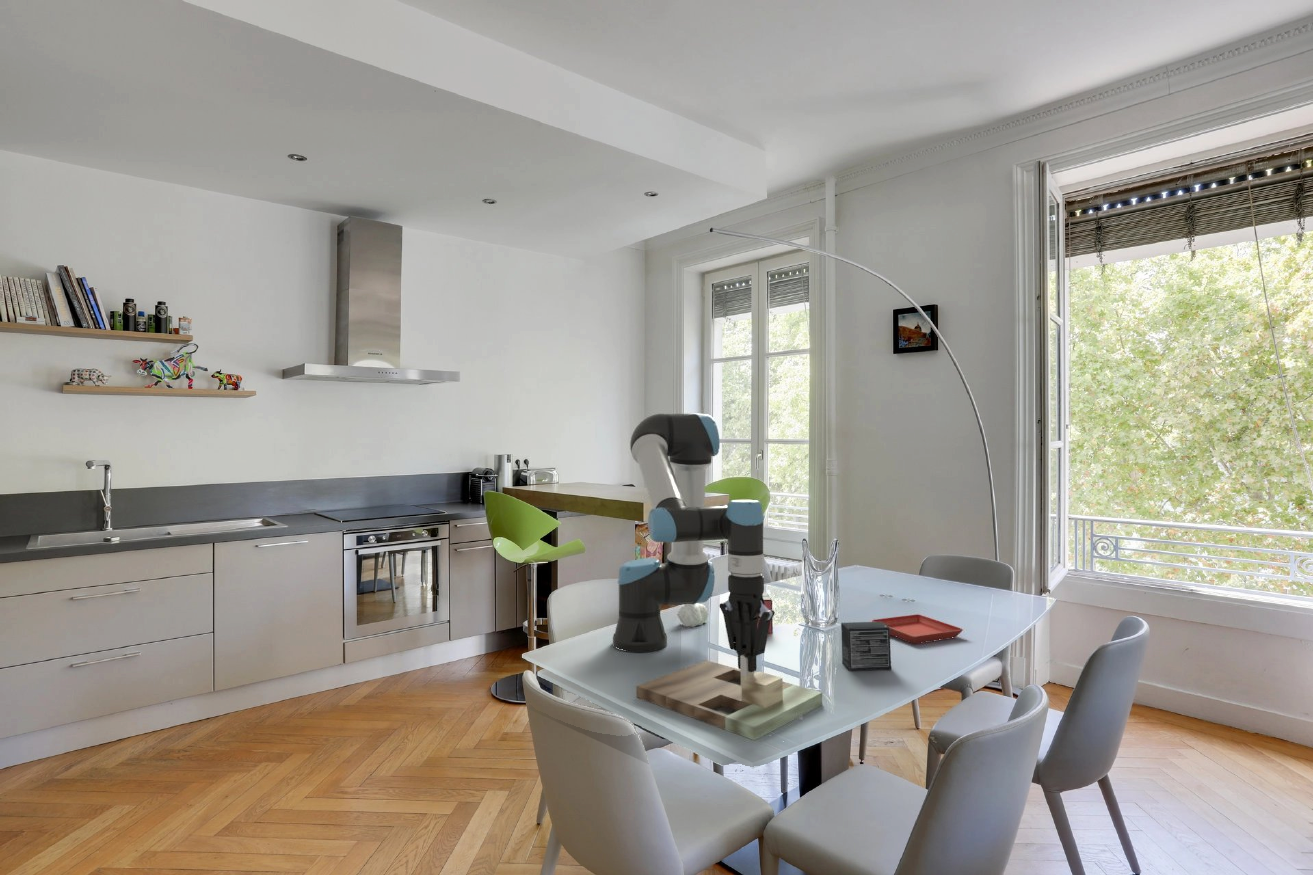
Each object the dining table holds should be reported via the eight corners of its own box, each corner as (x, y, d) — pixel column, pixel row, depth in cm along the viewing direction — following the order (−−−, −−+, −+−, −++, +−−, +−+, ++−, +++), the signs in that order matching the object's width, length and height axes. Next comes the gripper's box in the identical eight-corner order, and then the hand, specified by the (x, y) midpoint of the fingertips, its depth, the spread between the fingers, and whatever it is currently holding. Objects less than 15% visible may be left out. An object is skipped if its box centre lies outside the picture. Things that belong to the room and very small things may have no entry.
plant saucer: (964, 640, 189) (964, 628, 189) (913, 647, 183) (913, 635, 183) (918, 624, 206) (918, 613, 206) (870, 631, 200) (870, 619, 200)
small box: (882, 661, 170) (881, 620, 170) (892, 670, 164) (891, 627, 164) (841, 662, 170) (840, 621, 170) (849, 671, 163) (848, 628, 163)
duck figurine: (704, 627, 213) (688, 595, 218) (718, 615, 209) (701, 584, 214) (677, 634, 205) (661, 601, 210) (691, 623, 201) (674, 589, 206)
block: (741, 700, 139) (741, 678, 139) (758, 692, 143) (758, 671, 143) (765, 707, 135) (765, 685, 135) (782, 699, 139) (782, 677, 139)
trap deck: (636, 697, 148) (636, 685, 148) (707, 670, 165) (707, 660, 165) (754, 740, 126) (754, 726, 126) (822, 704, 143) (822, 692, 143)
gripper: (710, 572, 144) (712, 683, 143) (760, 580, 135) (762, 698, 134) (732, 567, 149) (734, 674, 149) (781, 574, 140) (783, 688, 140)
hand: (747, 685), depth 141 cm, fingers closed
